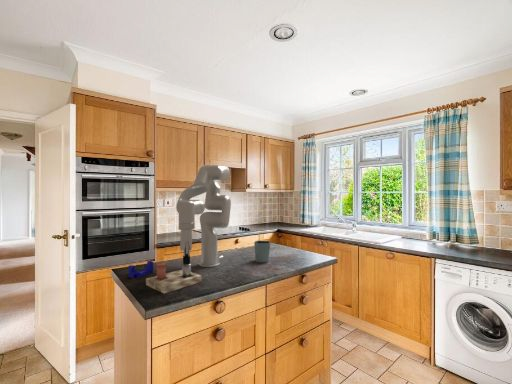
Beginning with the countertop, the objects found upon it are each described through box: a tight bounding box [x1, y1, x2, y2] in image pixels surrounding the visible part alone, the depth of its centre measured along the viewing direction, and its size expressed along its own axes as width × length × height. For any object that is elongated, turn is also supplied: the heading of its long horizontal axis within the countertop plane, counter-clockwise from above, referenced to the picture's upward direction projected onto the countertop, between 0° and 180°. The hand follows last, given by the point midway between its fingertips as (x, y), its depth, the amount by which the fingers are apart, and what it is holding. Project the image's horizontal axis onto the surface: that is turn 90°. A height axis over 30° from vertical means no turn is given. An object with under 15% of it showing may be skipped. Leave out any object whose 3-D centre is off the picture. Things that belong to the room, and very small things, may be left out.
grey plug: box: [181, 262, 193, 278], centre depth 131 cm, size 5×5×6 cm
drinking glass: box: [253, 240, 271, 264], centre depth 171 cm, size 10×10×12 cm
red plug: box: [155, 262, 167, 279], centre depth 128 cm, size 5×5×6 cm
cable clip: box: [128, 260, 154, 280], centre depth 142 cm, size 12×4×6 cm, turn 142°
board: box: [145, 269, 202, 294], centre depth 130 cm, size 20×16×3 cm
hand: (186, 263), depth 131 cm, fingers closed
